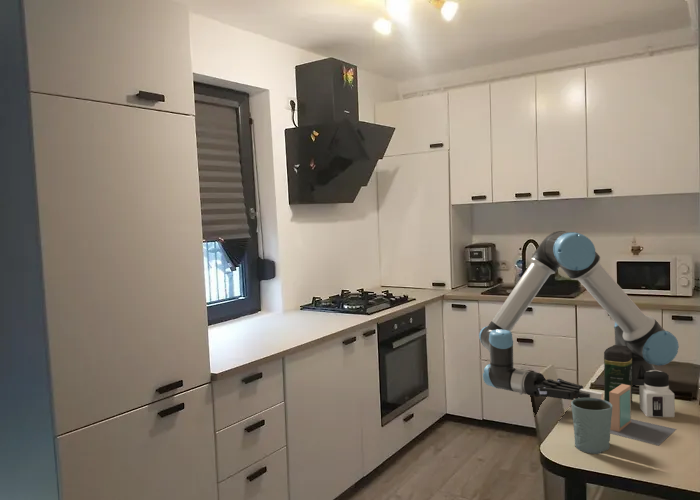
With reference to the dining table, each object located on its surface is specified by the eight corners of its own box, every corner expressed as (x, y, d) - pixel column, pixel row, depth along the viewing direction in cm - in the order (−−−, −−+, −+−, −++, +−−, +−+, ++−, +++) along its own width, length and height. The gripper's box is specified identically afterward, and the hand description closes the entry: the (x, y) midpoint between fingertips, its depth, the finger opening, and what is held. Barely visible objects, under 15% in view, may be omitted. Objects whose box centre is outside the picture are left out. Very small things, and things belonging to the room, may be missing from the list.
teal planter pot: (566, 448, 155) (565, 405, 154) (580, 436, 163) (579, 394, 162) (605, 458, 148) (605, 412, 147) (618, 444, 156) (617, 401, 155)
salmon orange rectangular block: (622, 420, 170) (622, 383, 170) (631, 422, 169) (631, 385, 168) (610, 429, 164) (609, 392, 163) (619, 432, 162) (618, 393, 162)
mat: (619, 418, 174) (619, 416, 174) (676, 431, 162) (676, 429, 162) (599, 433, 164) (599, 430, 164) (658, 447, 153) (658, 445, 153)
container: (675, 419, 171) (674, 376, 170) (646, 418, 172) (646, 375, 171) (666, 409, 178) (665, 368, 177) (639, 409, 180) (638, 368, 179)
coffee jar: (629, 410, 179) (628, 351, 178) (602, 406, 184) (601, 349, 182) (634, 400, 187) (634, 344, 186) (608, 397, 192) (607, 342, 190)
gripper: (539, 388, 191) (611, 404, 174) (518, 399, 182) (592, 417, 165) (538, 366, 190) (611, 379, 173) (517, 376, 182) (592, 391, 164)
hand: (602, 398), depth 169 cm, fingers closed
